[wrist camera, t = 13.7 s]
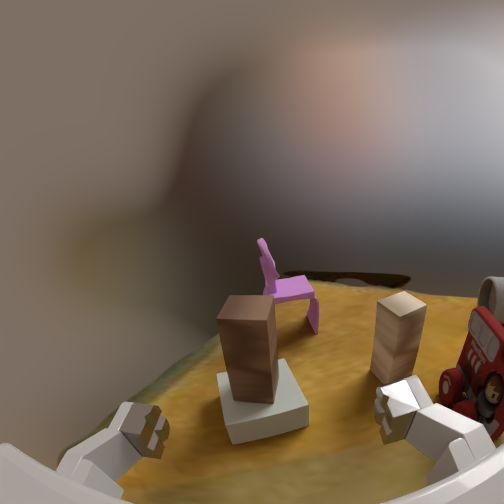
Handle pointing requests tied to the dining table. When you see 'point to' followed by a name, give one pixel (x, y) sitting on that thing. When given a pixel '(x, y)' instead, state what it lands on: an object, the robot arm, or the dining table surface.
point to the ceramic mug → (493, 297)
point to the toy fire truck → (479, 374)
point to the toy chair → (288, 286)
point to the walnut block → (250, 347)
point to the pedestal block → (264, 410)
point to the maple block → (397, 336)
